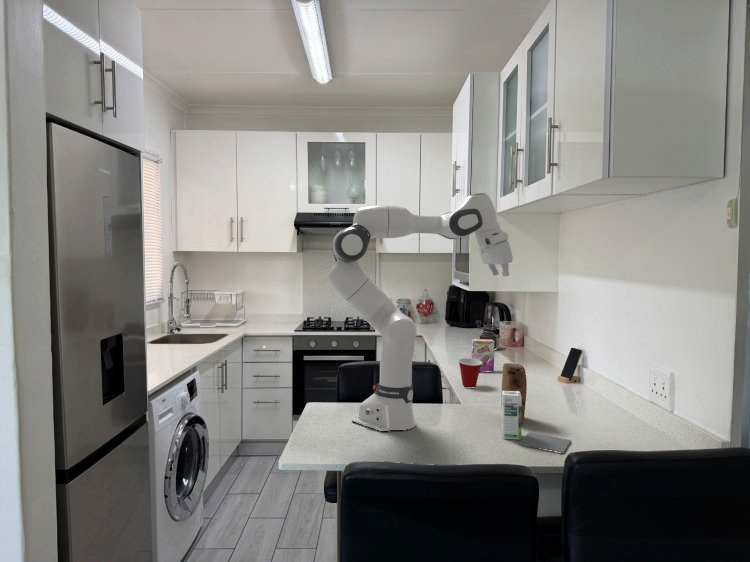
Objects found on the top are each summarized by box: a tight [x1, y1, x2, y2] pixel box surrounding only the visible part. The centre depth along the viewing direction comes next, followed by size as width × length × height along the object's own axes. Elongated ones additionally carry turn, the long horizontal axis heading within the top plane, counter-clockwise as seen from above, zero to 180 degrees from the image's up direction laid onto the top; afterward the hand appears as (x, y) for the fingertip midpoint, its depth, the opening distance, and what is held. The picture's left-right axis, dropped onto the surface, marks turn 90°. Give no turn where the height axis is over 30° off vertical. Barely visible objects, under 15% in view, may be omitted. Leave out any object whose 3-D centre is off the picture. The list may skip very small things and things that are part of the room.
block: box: [500, 362, 528, 424], centre depth 176 cm, size 11×8×20 cm
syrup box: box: [501, 390, 522, 441], centre depth 160 cm, size 6×6×14 cm
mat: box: [518, 431, 572, 453], centre depth 154 cm, size 13×12×1 cm
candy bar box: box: [470, 338, 495, 372], centre depth 253 cm, size 11×5×16 cm, turn 89°
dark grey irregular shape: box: [475, 319, 500, 348], centre depth 318 cm, size 16×11×18 cm
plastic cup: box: [458, 357, 482, 388], centre depth 222 cm, size 11×11×12 cm
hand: (501, 275), depth 173 cm, fingers open, 8 cm apart
